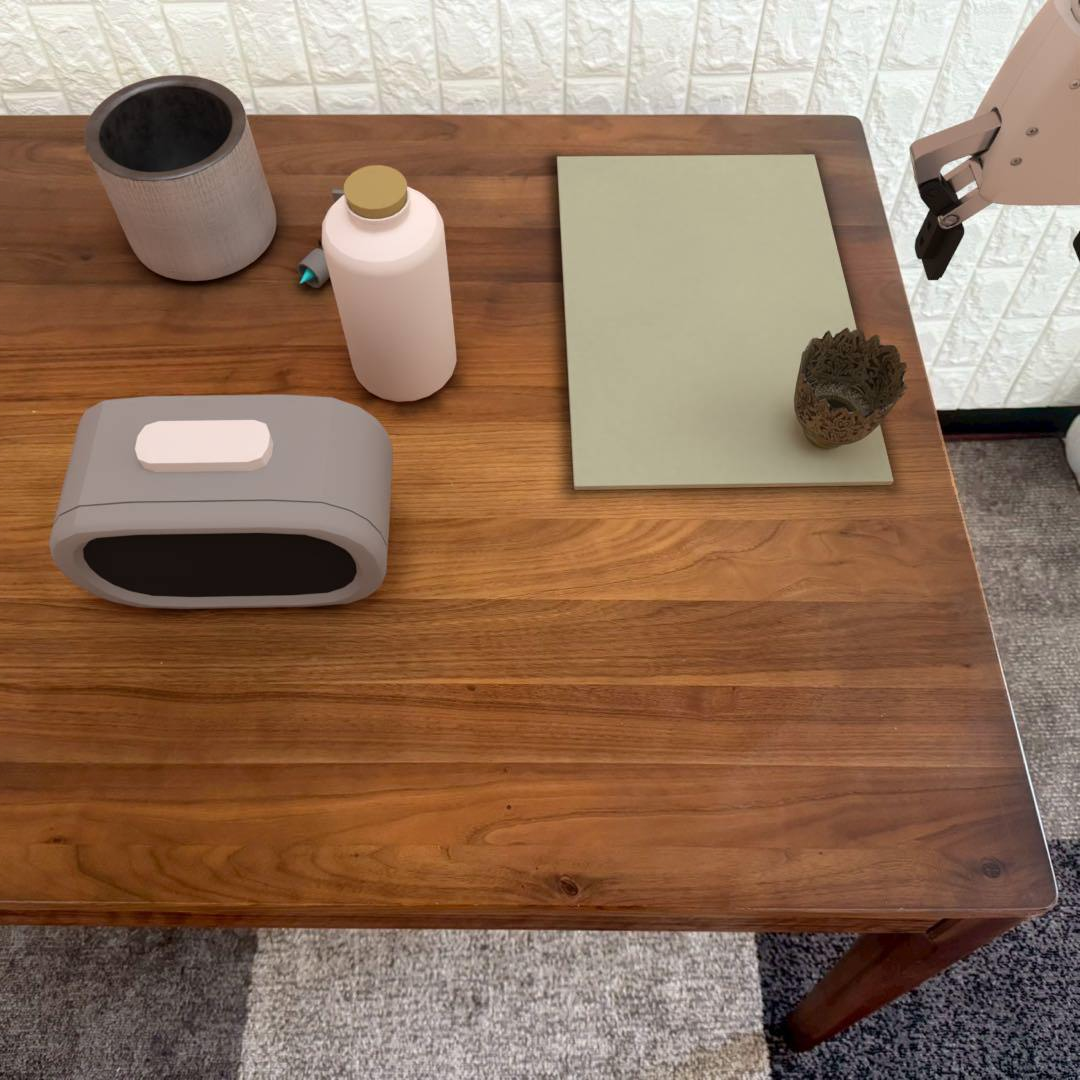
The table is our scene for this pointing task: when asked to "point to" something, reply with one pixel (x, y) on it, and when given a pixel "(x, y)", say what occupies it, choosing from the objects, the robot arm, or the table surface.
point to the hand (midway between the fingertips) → (1006, 262)
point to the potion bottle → (391, 284)
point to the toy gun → (316, 260)
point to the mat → (699, 321)
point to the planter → (183, 176)
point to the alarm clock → (226, 502)
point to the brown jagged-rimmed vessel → (846, 387)
